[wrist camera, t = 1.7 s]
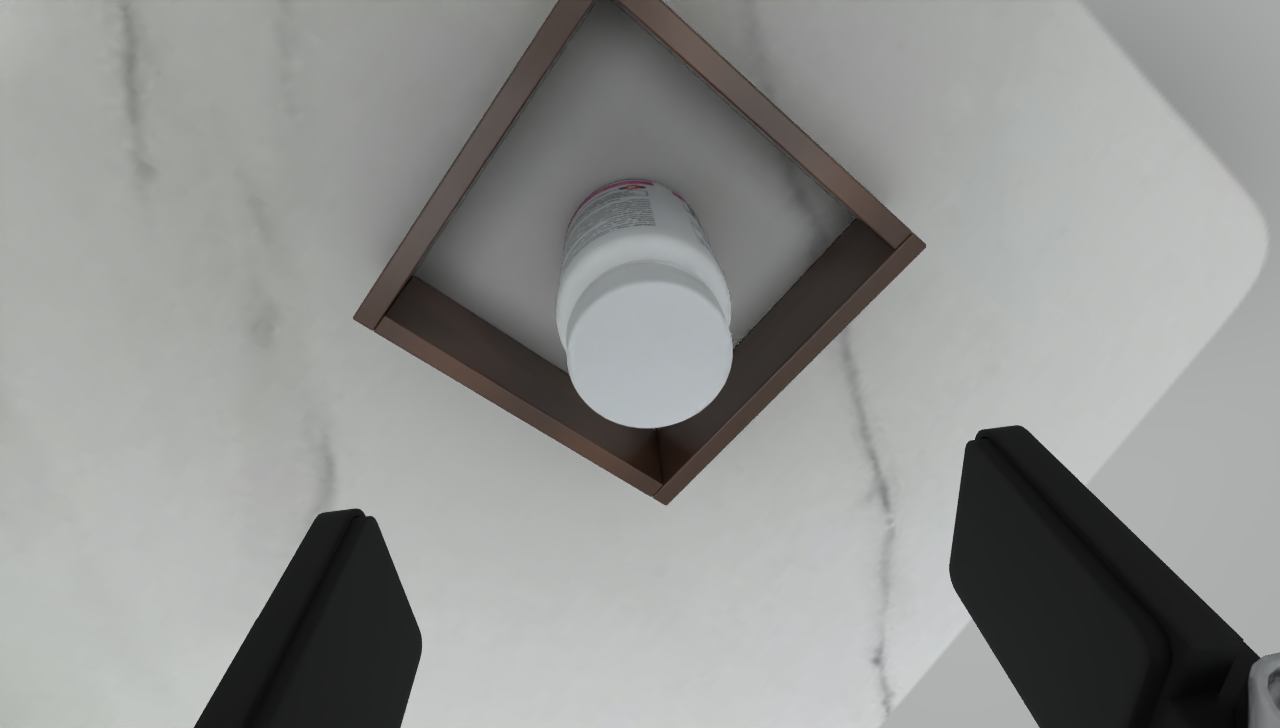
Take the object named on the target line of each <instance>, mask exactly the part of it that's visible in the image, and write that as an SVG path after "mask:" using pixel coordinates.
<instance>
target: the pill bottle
mask: <svg viewBox="0 0 1280 728" xmlns="http://www.w3.org/2000/svg"><path fill="white" fill-rule="evenodd" d="M730 321H731V301H730V295H729V290H728V286H727V283H726V280H725V278H724V275H723V273H722V271H721V268H720V266H719V264H718V262H717V259H716V257H715V255H714V253H713V251H712V249H711V247H710V244H709V242H708V240H707V238H706V236H705V234H704V231H703V229H702V227H701V225H700V223H699V220H698V219H697V217H696V215H695V213H694V212H693V210H692V209H691V208H690V206H689V205H688V204H687V203H686V202H685V201H684V200H683V199H682V198H681V197H680V196H679V195H678V194H676V193H675V192H674V191H672V190H670V189H669V188H667V187H665V186H663V185H660V184H657V183H654V182H650V181H646V180H625V181H619V182H615V183H612V184H609V185H607V186H604V187H602V188H601V189H599V190H597V191H596V192H594V193H593V194H592V195H590V196H589V197H588V198H587V199H586V200H585V201H584V202H583V203H582V204H581V206H580V207H579V208H578V210H577V211H576V213H575V214H574V216H573V218H572V219H571V222H570V224H569V226H568V230H567V233H566V237H565V243H564V250H563V258H562V265H561V272H560V280H559V287H558V294H557V301H556V322H557V329H558V333H559V337H560V340H561V342H562V345H563V347H564V349H565V351H566V353H567V367H568V371H569V375H570V378H571V380H572V383H573V385H574V387H575V389H576V391H577V392H578V394H579V395H580V397H581V398H582V399H583V400H584V402H585V403H586V404H587V405H588V406H589V407H590V408H592V409H593V410H594V411H595V412H597V413H598V414H600V415H601V416H603V417H604V418H606V419H608V420H610V421H613V422H615V423H618V424H621V425H625V426H629V427H636V428H659V427H665V426H669V425H673V424H676V423H679V422H682V421H684V420H686V419H688V418H690V417H692V416H694V415H695V414H697V413H699V412H700V411H702V410H703V409H704V408H705V407H707V406H708V405H709V404H710V403H711V402H712V401H713V400H714V399H715V397H716V396H717V395H718V393H719V392H720V391H721V389H722V388H723V386H724V384H725V382H726V380H727V378H728V375H729V372H730V369H731V364H732V358H733V344H732V338H731V333H730V330H729V326H730Z"/></svg>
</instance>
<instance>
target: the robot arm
mask: <svg viewBox="0 0 1280 728" xmlns="http://www.w3.org/2000/svg"><path fill="white" fill-rule="evenodd" d="M949 572H950V578H951V582H952V584H953V587H954V589H955V591H956V593H957V594H958V596H959V598H960V599H961V601H962V602H963V604H964V606H965V607H966V609H967V610H968V612H969V614H970V615H971V617H972V619H973V620H974V622H975V623H976V625H977V627H978V628H979V630H980V632H981V633H982V635H983V636H984V638H985V639H986V641H987V643H988V644H989V646H990V648H991V649H992V651H993V653H994V654H995V656H996V657H997V659H998V661H999V662H1000V664H1001V666H1002V667H1003V669H1004V671H1005V672H1006V674H1007V675H1008V677H1009V679H1010V680H1011V682H1012V683H1013V685H1014V687H1015V688H1016V690H1017V692H1018V693H1019V695H1020V696H1021V698H1022V700H1023V701H1024V703H1025V705H1026V706H1027V708H1028V709H1029V711H1030V713H1031V714H1032V716H1033V718H1034V719H1035V721H1036V722H1037V724H1038V726H1039V727H1040V728H1280V653H1276V654H1271V655H1266V656H1263V657H1262V658H1260V657H1259V656H1258V655H1257V654H1256V653H1255V652H1254V651H1253V650H1252V649H1250V647H1249V646H1248V645H1246V643H1244V642H1243V639H1242V638H1241V637H1240V636H1239V635H1238V634H1237V633H1236V632H1235V631H1234V630H1233V629H1232V628H1231V627H1230V626H1229V625H1228V624H1227V623H1226V622H1225V621H1223V619H1222V618H1221V617H1220V616H1218V614H1217V613H1215V612H1214V611H1213V610H1212V609H1211V608H1210V607H1209V606H1208V605H1207V604H1206V603H1205V602H1204V601H1203V600H1202V599H1201V598H1200V597H1199V596H1198V595H1197V594H1196V593H1195V592H1194V591H1193V590H1192V589H1191V588H1190V587H1189V586H1188V585H1187V584H1185V583H1184V582H1183V581H1182V580H1181V579H1180V578H1179V577H1178V576H1177V575H1176V574H1175V573H1174V572H1173V571H1172V570H1171V569H1170V568H1169V567H1168V566H1167V565H1166V564H1165V563H1164V562H1163V561H1162V560H1161V559H1160V558H1159V557H1158V556H1156V555H1155V554H1154V552H1152V551H1151V550H1150V549H1149V548H1148V547H1147V546H1146V545H1145V544H1144V543H1143V542H1142V541H1141V540H1140V539H1139V538H1138V537H1137V536H1136V535H1135V534H1134V533H1133V532H1131V530H1130V529H1128V527H1127V526H1126V525H1125V524H1124V523H1123V522H1121V521H1120V520H1119V519H1118V518H1117V517H1116V516H1115V515H1114V514H1113V513H1112V512H1111V511H1110V510H1109V509H1108V508H1107V507H1106V506H1105V505H1104V504H1103V503H1102V502H1101V501H1100V500H1099V499H1098V498H1097V497H1096V496H1095V495H1094V494H1092V493H1091V491H1089V490H1088V489H1087V488H1086V487H1085V486H1084V485H1083V484H1082V483H1081V482H1080V481H1079V480H1078V479H1077V478H1076V477H1075V476H1074V475H1073V474H1072V473H1071V472H1070V471H1069V470H1068V469H1067V468H1066V467H1065V466H1064V465H1063V464H1062V463H1061V462H1060V461H1058V460H1057V459H1056V458H1055V457H1054V456H1053V455H1052V454H1051V453H1050V452H1049V451H1048V450H1047V449H1046V448H1045V447H1044V446H1043V445H1042V444H1041V443H1040V442H1039V441H1038V440H1037V439H1036V438H1035V437H1034V436H1033V435H1032V434H1031V433H1030V432H1029V431H1028V430H1026V429H1025V428H1024V427H1022V426H1018V425H1015V426H1007V427H999V428H992V429H984V430H981V431H979V432H978V433H977V435H976V438H975V440H971V441H969V442H968V443H967V444H966V448H965V454H964V461H963V469H962V476H961V483H960V491H959V498H958V506H957V513H956V520H955V528H954V535H953V542H952V550H951V557H950V564H949ZM421 652H422V638H421V633H420V630H419V627H418V625H417V622H416V620H415V617H414V615H413V612H412V609H411V607H410V604H409V602H408V599H407V597H406V594H405V592H404V589H403V587H402V584H401V582H400V579H399V576H398V574H397V571H396V569H395V566H394V564H393V561H392V559H391V556H390V554H389V551H388V549H387V546H386V543H385V541H384V538H383V536H382V533H381V531H380V528H379V526H378V523H377V521H376V519H375V518H374V517H372V516H367V517H366V516H365V514H364V512H362V511H361V510H360V509H348V510H340V511H332V512H325V513H321V514H319V515H318V516H317V517H316V519H315V520H314V522H313V524H312V525H311V527H310V529H309V530H308V532H307V534H306V536H305V537H304V539H303V541H302V543H301V544H300V546H299V548H298V549H297V551H296V553H295V555H294V556H293V558H292V560H291V562H290V563H289V565H288V567H287V569H286V570H285V572H284V574H283V575H282V577H281V579H280V581H279V582H278V584H277V586H276V588H275V589H274V591H273V593H272V594H271V596H270V598H269V600H268V601H267V603H266V605H265V607H264V608H263V610H262V612H261V614H260V615H259V617H258V618H257V619H256V621H255V623H254V625H253V626H252V628H251V630H250V632H249V633H248V635H247V637H246V638H245V640H244V642H243V644H242V645H241V647H240V649H239V651H238V652H237V654H236V656H235V657H234V659H233V661H232V663H231V664H230V666H229V668H228V670H227V671H226V673H225V675H224V676H223V678H222V680H221V682H220V683H219V685H218V687H217V689H216V690H215V692H214V694H213V695H212V697H211V699H210V701H209V702H208V704H207V706H206V708H205V709H204V711H203V713H202V714H201V716H200V718H199V720H198V721H197V723H196V725H195V727H194V728H400V727H401V723H402V720H403V716H404V713H405V710H406V706H407V703H408V699H409V696H410V692H411V689H412V685H413V682H414V678H415V675H416V671H417V668H418V664H419V661H420V657H421Z"/></svg>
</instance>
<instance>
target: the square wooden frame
mask: <svg viewBox="0 0 1280 728" xmlns="http://www.w3.org/2000/svg"><path fill="white" fill-rule="evenodd" d="M596 1H597V0H558V2H557V3H556V5H555V6H554V8H553V10H552V11H551V13H550V14H549V16H548V17H547V19H546V20H545V22H544V23H543V25H542V26H541V28H540V30H539V31H538V33H537V34H536V36H535V37H534V39H533V40H532V42H531V43H530V45H529V47H528V48H527V50H526V51H525V53H524V54H523V56H522V57H521V59H520V60H519V62H518V64H517V65H516V67H515V68H514V70H513V71H512V73H511V74H510V76H509V77H508V79H507V80H506V82H505V84H504V85H503V87H502V88H501V90H500V91H499V93H498V94H497V96H496V97H495V99H494V101H493V102H492V104H491V105H490V107H489V108H488V110H487V111H486V113H485V114H484V116H483V117H482V119H481V121H480V122H479V124H478V125H477V127H476V128H475V130H474V131H473V133H472V134H471V136H470V138H469V139H468V141H467V142H466V144H465V145H464V147H463V148H462V150H461V151H460V153H459V154H458V156H457V158H456V159H455V161H454V162H453V164H452V165H451V167H450V168H449V170H448V171H447V173H446V175H445V176H444V178H443V179H442V181H441V182H440V184H439V185H438V187H437V188H436V190H435V191H434V193H433V195H432V196H431V198H430V199H429V201H428V202H427V204H426V205H425V207H424V208H423V210H422V212H421V213H420V215H419V216H418V218H417V219H416V221H415V222H414V224H413V225H412V227H411V228H410V230H409V232H408V233H407V235H406V236H405V238H404V239H403V241H402V242H401V244H400V245H399V247H398V249H397V250H396V252H395V253H394V255H393V256H392V258H391V259H390V261H389V262H388V264H387V265H386V267H385V269H384V270H383V272H382V273H381V275H380V276H379V278H378V279H377V281H376V282H375V284H374V286H373V287H372V289H371V290H370V292H369V293H368V295H367V296H366V298H365V299H364V301H363V303H362V304H361V306H360V307H359V309H358V310H357V312H356V313H355V315H354V316H353V319H354V320H355V321H357V322H359V323H360V324H362V325H364V326H365V327H367V328H369V329H370V330H374V332H376V333H377V334H379V335H381V336H382V337H384V338H386V339H387V340H389V341H391V342H392V343H394V344H396V345H397V346H399V347H401V348H402V349H404V350H406V351H407V352H409V353H411V354H412V355H414V356H416V357H417V358H419V359H421V360H422V361H424V362H426V363H427V364H429V365H431V366H432V367H434V368H436V369H437V370H439V371H441V372H443V373H444V374H446V375H448V376H449V377H451V378H453V379H454V380H456V381H458V382H459V383H461V384H463V385H464V386H466V387H468V388H469V389H471V390H473V391H474V392H476V393H478V394H479V395H481V396H483V397H484V398H486V399H488V400H489V401H491V402H493V403H494V404H496V405H498V406H499V407H501V408H503V409H504V410H506V411H508V412H510V413H511V414H513V415H515V416H516V417H518V418H520V419H521V420H523V421H525V422H526V423H528V424H530V425H531V426H533V427H535V428H536V429H538V430H540V431H541V432H543V433H545V434H546V435H548V436H550V437H551V438H553V439H555V440H556V441H558V442H560V443H561V444H563V445H565V446H566V447H568V448H570V449H571V450H573V451H575V452H576V453H578V454H580V455H582V456H583V457H585V458H587V459H588V460H590V461H592V462H593V463H595V464H597V465H598V466H600V467H602V468H603V469H605V470H607V471H608V472H610V473H612V474H613V475H615V476H617V477H618V478H620V479H622V480H623V481H625V482H627V483H628V484H630V485H632V486H633V487H635V488H637V489H638V490H640V491H642V492H643V493H645V494H647V495H649V496H650V497H653V498H654V499H656V500H657V501H659V502H661V503H662V504H664V505H668V504H669V503H670V502H671V501H672V500H673V499H674V498H675V497H676V496H677V495H678V494H679V493H680V492H681V491H682V490H683V489H684V488H685V487H686V486H687V485H688V484H689V483H690V482H691V481H692V480H693V479H694V478H695V477H696V476H697V475H698V474H699V473H700V472H701V471H702V470H703V469H704V468H705V467H706V466H707V465H708V464H709V463H710V462H711V461H712V460H713V459H714V458H715V457H716V456H717V455H718V454H719V453H720V452H721V451H722V450H723V449H724V448H725V447H726V446H727V445H728V444H729V443H730V442H731V441H732V440H733V439H734V438H735V437H736V436H737V435H738V434H739V433H740V432H741V431H742V430H743V429H744V428H745V427H746V426H747V425H748V424H749V423H750V422H751V421H752V420H753V419H754V418H755V417H756V416H757V415H758V414H759V413H760V412H761V411H762V410H763V409H764V408H765V407H766V406H767V405H768V404H769V403H770V402H771V401H772V400H773V399H774V398H775V397H776V396H777V395H778V394H779V393H780V392H781V391H782V390H783V389H784V388H785V387H786V386H787V385H788V384H789V383H790V382H791V381H792V380H793V379H794V378H795V377H796V376H797V375H798V374H799V373H800V372H801V371H802V370H803V369H804V368H805V367H806V366H807V365H808V364H809V363H810V362H811V361H812V360H813V359H814V358H815V357H816V356H817V355H818V354H819V353H820V352H821V351H822V350H823V349H824V348H825V347H826V346H827V345H828V344H829V343H830V342H831V341H832V340H833V339H834V338H835V337H836V336H837V335H838V334H839V333H840V332H841V331H842V330H843V329H844V328H845V327H846V326H847V325H848V324H849V323H850V322H851V321H852V320H853V319H854V318H855V317H856V316H857V315H858V314H859V313H860V312H861V311H862V310H863V309H864V308H865V307H866V306H867V305H868V304H869V303H870V302H871V301H872V300H873V299H874V298H875V297H876V296H877V295H878V294H879V293H880V292H881V291H882V290H883V289H884V288H885V287H886V286H887V285H888V284H889V283H890V282H891V281H892V280H893V279H894V278H895V277H896V276H898V275H899V274H900V273H901V272H902V271H903V270H904V269H905V268H906V267H907V266H908V265H909V264H910V263H911V262H912V261H913V260H914V259H915V258H916V257H917V256H918V255H919V254H920V253H921V252H922V251H923V250H924V249H925V248H926V244H925V243H924V242H923V241H922V240H921V239H920V238H919V237H917V236H916V235H915V234H914V233H913V232H912V231H911V230H910V229H909V228H908V227H907V226H906V225H905V224H903V223H902V222H901V221H900V220H899V219H898V218H897V217H896V216H895V215H894V214H893V213H891V212H890V211H889V210H888V209H887V208H886V207H885V206H884V205H883V204H882V203H881V202H880V201H878V200H877V199H876V198H875V197H874V196H873V195H872V194H871V193H870V192H869V191H868V190H867V189H865V188H864V187H863V186H862V185H861V184H860V183H859V182H858V181H857V180H856V179H855V178H854V177H852V176H851V175H850V174H849V173H848V172H847V171H846V170H845V169H844V168H843V167H842V166H841V165H839V164H838V163H837V162H836V161H835V160H834V159H833V158H832V157H831V156H830V155H829V154H827V153H826V152H825V151H824V150H823V149H822V148H821V147H820V146H819V145H818V144H817V143H816V142H814V141H813V140H812V139H811V138H810V137H809V136H808V135H807V134H806V133H805V132H804V131H803V130H801V129H800V128H799V127H798V126H797V125H796V124H795V123H794V122H793V121H792V120H791V119H790V118H788V117H787V116H786V115H785V114H784V113H783V112H782V111H781V110H780V109H779V108H778V107H777V106H775V105H774V104H773V103H772V102H771V101H770V100H769V99H768V98H767V97H766V96H765V95H763V94H762V93H761V92H760V91H759V90H758V89H757V88H756V87H755V86H754V85H753V84H752V83H750V82H749V81H748V80H747V79H746V78H745V77H744V76H743V75H742V74H741V73H740V72H739V71H737V70H736V69H735V68H734V67H733V66H732V65H731V64H730V63H729V62H728V61H727V60H726V59H724V58H723V57H722V56H721V55H720V54H719V53H718V52H717V51H716V50H715V49H714V48H712V47H711V46H710V45H709V44H708V43H707V42H706V41H705V40H704V39H703V38H702V37H701V36H699V35H698V34H697V33H696V32H695V31H694V30H693V29H692V28H691V27H690V26H689V25H688V24H686V23H685V22H684V21H683V20H682V19H681V18H680V17H679V16H678V15H677V14H676V13H675V12H673V11H672V10H671V9H670V8H669V7H668V6H667V5H666V4H665V3H664V2H663V1H662V0H612V1H613V2H615V3H616V4H617V5H618V6H619V7H620V8H621V9H622V10H623V11H625V12H626V13H627V14H628V15H629V16H630V17H631V18H632V19H634V20H635V21H636V22H637V23H638V24H639V25H640V26H641V27H643V28H644V29H645V30H646V31H647V32H648V33H649V34H650V35H651V36H653V37H654V38H655V39H656V40H657V41H658V42H659V43H660V44H662V45H663V46H664V47H665V48H666V49H667V50H668V51H669V52H671V53H672V54H673V55H674V56H675V57H676V58H677V59H678V60H679V61H681V62H682V63H683V64H684V65H685V66H686V67H687V68H688V69H690V70H691V71H692V72H693V73H694V74H695V75H696V76H697V77H698V78H700V79H701V80H702V81H703V82H704V83H705V84H706V85H707V86H709V87H710V88H711V89H712V90H713V91H714V92H715V93H716V94H718V95H719V96H720V97H721V98H722V99H723V100H724V101H725V102H726V103H728V104H729V105H730V106H731V107H732V108H733V109H734V110H735V111H737V112H738V113H739V114H740V115H741V116H742V117H743V118H744V119H745V120H747V121H748V122H749V123H750V124H751V125H752V126H753V127H754V128H756V129H757V130H758V131H759V132H760V133H761V134H762V135H763V136H765V137H766V138H767V139H768V140H769V141H770V142H771V143H772V144H773V145H775V146H776V147H777V148H778V149H779V150H780V151H781V152H782V153H784V154H785V155H786V156H787V157H788V158H789V159H790V160H791V161H793V162H794V163H795V164H796V165H797V166H798V167H799V168H800V169H801V170H803V171H804V172H805V173H806V174H807V175H808V176H809V177H810V178H812V179H813V180H814V181H815V182H816V183H817V184H818V185H819V186H820V187H822V188H823V189H824V190H825V191H826V192H827V193H828V194H829V195H831V196H832V197H833V198H834V199H835V200H836V201H837V202H838V203H840V204H841V205H842V206H843V207H844V208H845V209H846V210H847V211H848V212H850V213H851V214H852V215H853V216H854V217H855V218H856V220H855V221H854V222H853V223H852V224H851V225H850V226H849V228H848V229H847V230H846V231H845V232H844V233H843V234H842V235H841V236H840V237H839V238H838V239H837V240H836V241H835V242H834V244H833V245H832V246H831V247H830V248H829V249H828V250H827V251H826V252H825V253H824V254H823V255H822V256H821V257H820V258H819V259H818V261H817V262H816V263H815V264H814V265H813V266H812V267H811V268H810V269H809V270H808V271H807V272H806V273H805V274H804V275H803V277H802V278H801V279H800V280H799V281H798V282H797V283H796V284H795V285H794V286H793V287H792V288H791V289H790V290H789V291H788V292H787V294H786V295H785V296H784V297H783V298H782V299H781V300H780V301H779V302H778V303H777V304H776V305H775V306H774V307H773V308H772V310H771V311H770V312H769V313H768V314H767V315H766V316H765V317H764V318H763V319H762V320H761V321H760V322H759V323H758V324H757V325H756V327H755V328H754V329H753V330H752V331H751V332H750V333H749V334H748V335H747V336H746V337H745V338H744V339H743V340H742V341H741V343H740V344H739V345H738V346H737V347H736V348H735V349H734V350H733V358H732V364H731V369H730V372H729V375H728V378H727V380H726V382H725V384H724V386H723V388H722V389H721V391H720V392H719V393H718V395H717V396H716V397H715V399H714V400H713V401H712V402H711V403H710V404H709V405H708V406H707V407H705V408H704V409H703V410H702V411H700V412H699V413H697V414H695V415H694V416H692V417H690V418H688V419H686V420H684V421H682V422H679V423H676V424H673V425H669V426H665V427H661V428H660V429H659V430H658V431H657V432H656V431H655V430H653V429H652V428H636V427H629V426H625V425H621V424H618V423H615V422H613V421H610V420H608V419H606V418H604V417H603V416H601V415H600V414H598V413H597V412H595V411H594V410H593V409H592V408H590V407H589V406H588V405H587V404H586V403H585V402H584V400H583V399H582V398H581V397H580V395H579V394H578V392H577V391H576V389H575V387H574V385H573V383H572V380H571V378H570V376H569V375H568V374H566V373H565V372H563V371H561V370H560V369H558V368H557V367H555V366H554V365H552V364H551V363H549V362H547V361H546V360H544V359H543V358H541V357H540V356H538V355H537V354H535V353H533V352H532V351H530V350H529V349H527V348H526V347H524V346H523V345H521V344H519V343H518V342H516V341H515V340H513V339H512V338H510V337H508V336H507V335H505V334H504V333H502V332H501V331H499V330H498V329H496V328H494V327H493V326H491V325H490V324H488V323H487V322H485V321H484V320H482V319H480V318H479V317H477V316H476V315H474V314H473V313H471V312H469V311H468V310H466V309H465V308H463V307H462V306H460V305H459V304H457V303H455V302H454V301H452V300H451V299H449V298H448V297H446V296H445V295H443V294H441V293H440V292H438V291H437V290H435V289H434V288H432V287H431V286H429V285H427V284H426V283H424V282H423V281H421V280H420V279H418V278H416V277H415V276H412V275H413V274H414V272H415V271H416V269H417V268H418V266H419V265H420V263H421V262H422V260H423V259H424V257H425V256H426V254H427V253H428V251H429V250H430V248H431V247H432V245H433V244H434V242H435V241H436V239H437V238H438V236H439V235H440V233H441V232H442V230H443V229H444V227H445V226H446V224H447V223H448V221H449V220H450V218H451V217H452V216H453V214H454V213H455V211H456V210H457V208H458V207H459V205H460V204H461V202H462V201H463V199H464V198H465V196H466V195H467V193H468V192H469V190H470V189H471V187H472V186H473V184H474V183H475V181H476V180H477V178H478V177H479V175H480V174H481V172H482V171H483V169H484V168H485V166H486V165H487V163H488V162H489V160H490V159H491V157H492V156H493V154H494V153H495V151H496V150H497V148H498V147H499V145H500V144H501V142H502V141H503V139H504V138H505V136H506V135H507V134H508V132H509V131H510V129H511V128H512V126H513V125H514V123H515V122H516V120H517V119H518V117H519V116H520V114H521V113H522V111H523V110H524V108H525V107H526V105H527V104H528V102H529V101H530V99H531V98H532V96H533V95H534V93H535V92H536V90H537V89H538V87H539V86H540V84H541V83H542V81H543V80H544V78H545V77H546V75H547V74H548V72H549V71H550V69H551V68H552V66H553V65H554V63H555V62H556V60H557V59H558V57H559V56H560V54H561V53H562V51H563V50H564V49H565V47H566V46H567V44H568V43H569V41H570V40H571V38H572V37H573V35H574V34H575V32H576V31H577V29H578V28H579V26H580V25H581V23H582V22H583V20H584V19H585V17H586V16H587V14H588V13H589V11H590V10H591V8H592V7H593V5H594V4H595V2H596Z"/></svg>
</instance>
